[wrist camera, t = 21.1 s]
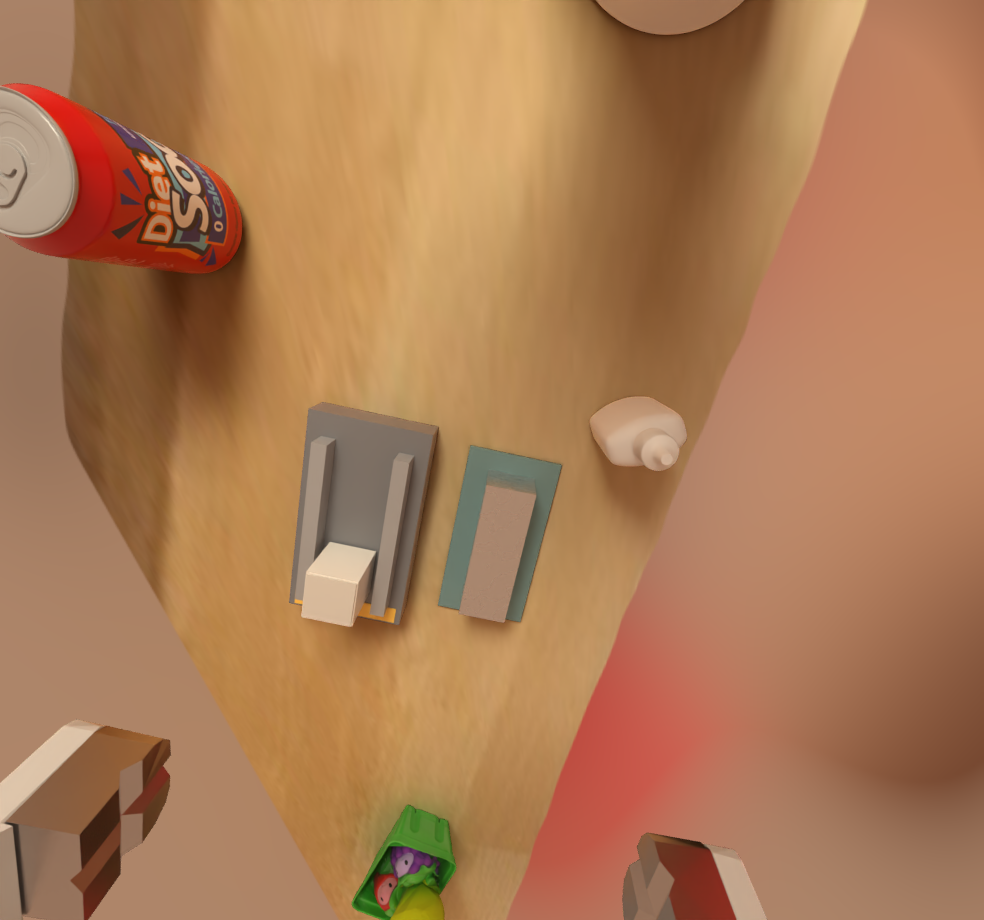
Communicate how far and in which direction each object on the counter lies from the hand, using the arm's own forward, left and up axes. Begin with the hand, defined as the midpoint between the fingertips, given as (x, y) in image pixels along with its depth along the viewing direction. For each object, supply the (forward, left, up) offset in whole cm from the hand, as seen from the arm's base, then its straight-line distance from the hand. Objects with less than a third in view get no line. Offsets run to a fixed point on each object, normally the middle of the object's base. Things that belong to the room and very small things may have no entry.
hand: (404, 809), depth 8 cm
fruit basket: (+50, +2, -34) cm, 61 cm away
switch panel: (+11, -9, -34) cm, 37 cm away
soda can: (-10, -25, -34) cm, 44 cm away
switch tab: (+15, -9, -31) cm, 36 cm away
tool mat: (+11, +3, -34) cm, 36 cm away
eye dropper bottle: (-2, +11, -34) cm, 36 cm away
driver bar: (+11, +3, -34) cm, 36 cm away
